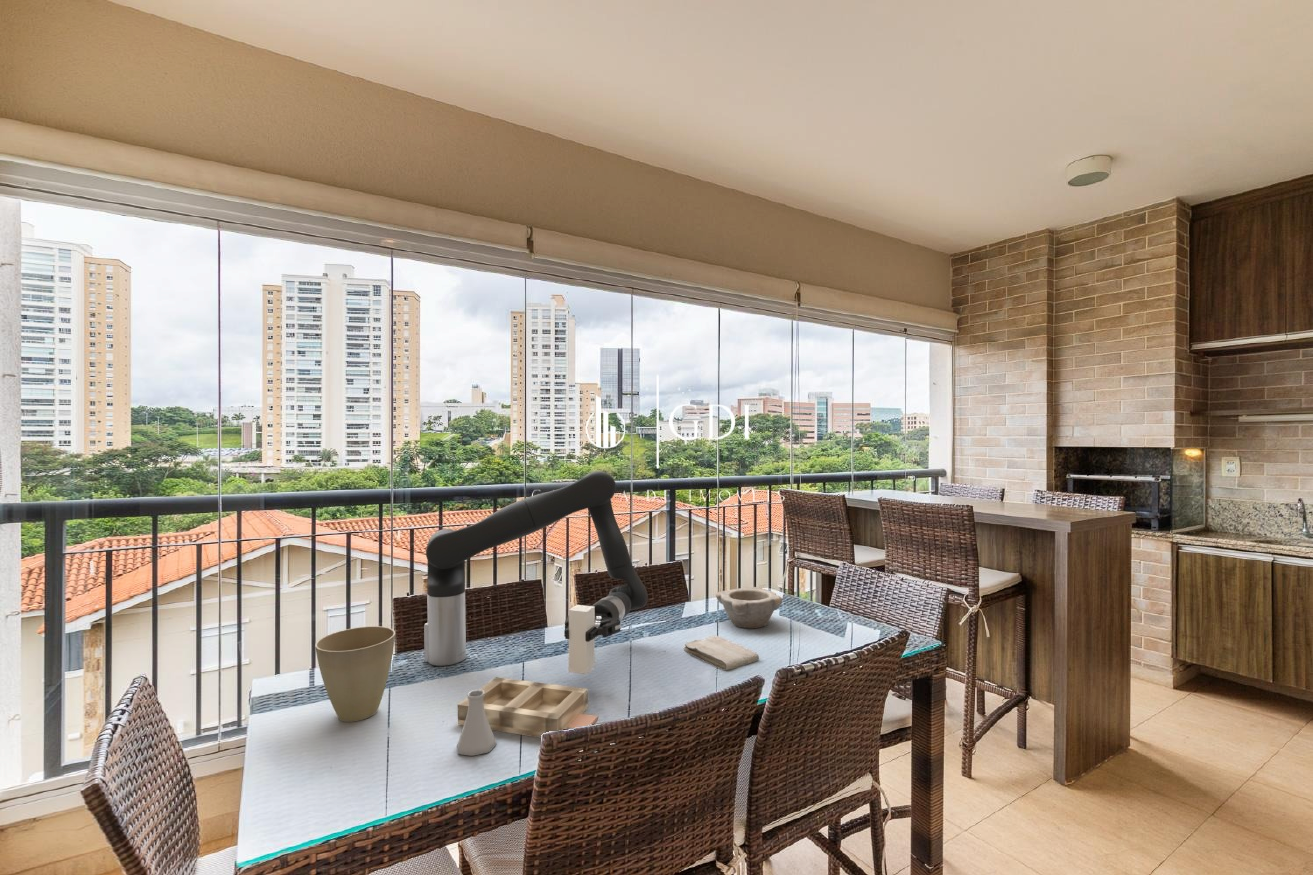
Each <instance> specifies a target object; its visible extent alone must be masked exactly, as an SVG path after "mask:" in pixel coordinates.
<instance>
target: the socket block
mask: <svg viewBox="0 0 1313 875" xmlns="http://www.w3.org/2000/svg"><path fill="white" fill-rule="evenodd" d="M478 690H484V692H485V696H484V697H483V704H484V710H485V714H486V717H487V720H488V723H489V725H490V728H491V730H492V731H495V732H496V731H497V732H504V733H508V734H515V735H516V734H517V735H522V736H529V737H534V738H541V735H542V734H543V733H546V732H549V731H559V730H563V729H569V728H575V727H582V726H588V725H590V724H593V725H594V724H595V723H596V722H597V721H598V719H599V715H593V714H586V713H584V712H585V711H587V709H588V708H589V706H588V705H589V700H588V697H589V696H588V695H589V694H588V688H584V687H576V686H575V687H574V686H566V685H560V684H553V683H544V682H536V681H531V680H530V681H529V680H523V679H521V680H520V679H512V678H504V677H499V676H498V677H497V676H496V677H494V678H493V679H492V680H490V681H489V682H488V683H486V684H484V685H483V686H482V687H480V688H479V689H478ZM468 707H469V699H468V697H466V698H465V699H463V700H462V701H461V702H459V703H458V704H457V725H459V726H464V723H465V720H466V717H467V713H468ZM541 739H542V738H541Z"/></svg>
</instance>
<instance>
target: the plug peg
mask: <svg viewBox="0 0 1313 875" xmlns="http://www.w3.org/2000/svg"><path fill="white" fill-rule="evenodd" d="M568 615H569V639H568V673H573V674H581V675H588V674H589V673H590V672H591V671H593V669H594V668H595V665H596V664H595V651H596V650H595V648H596V647H595V644H596V642H595V641H596V640H595V639H596V637H595V638H594V639H593V640H591V641H589V642H586V641H585V634H586V631H588V630H589V629H591V628H592V627H594V625H595V606H592V605H583V604H576V605H575V606H573V607H571V608H569V609H568Z"/></svg>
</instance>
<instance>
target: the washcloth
mask: <svg viewBox="0 0 1313 875" xmlns="http://www.w3.org/2000/svg"><path fill="white" fill-rule="evenodd" d="M683 650H684V651H685V652H686V653H687V654H689V655H691V656H692V657H695V658H697V659H699V660H700V661H703V662H705V663H708V664H709V665H712V666H714V667H715V668H718V669H720V670H723V671H730V670H733V669H736V668H738V667H741V666H746V665H749V664H752V663H755V662H757V661H759V660H760V656H759V654H758V653H757V652H755V651H753V650H752V649H749V648H746V647H744V646H743V645H740V644H738V643H735V642H733V641H731V640H728V639H725V638H723V637H721V636H719V635H711V636H709V637H707V638H705V639H694V640H693V641H689V642H686V643H684V647H683Z"/></svg>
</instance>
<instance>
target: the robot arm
mask: <svg viewBox="0 0 1313 875" xmlns="http://www.w3.org/2000/svg"><path fill="white" fill-rule="evenodd" d="M616 490H617V483H616V480H615V479H614V478H613V476H612V475H610V474H609V473H608V472H606V471H602V470H595V471H591V472H589V473H586V474H585V475H584V476H583V477H581V479H578V480H577V481H574V482H572V483H571V484H568V485H566V486H564V487H561V488H558V489H554V490H551V491H546V492H541V493H538V494H534V495H532V496H529V497H525V498H523V499H521V500H517V501H515V502H512V503H510V504H508V505H506V506H503V507H502V508H500V509H498V510H497V511H495V512H493V513H491V514H490V515H488V516H487V517H485V518H484V519H482V520H480V521H478V522H476V523H474V524H471V525H468V526H465V527H461V528H459V529H456V530H454V529H450V528H444V529H439V530H438V531H436V532H434V533H433V534H432V535H431V536H430V537H429V540H428V541H427V545H426V549H425V557H426V559H427V577H426V578H427V581H426V592H427V593H426V598H427V603H426V604H427V622H426V623H424V625H423V627H424V628H423V629H424V630H423V631H424V632H423V634H424V635H423V636H424V637H423V638H424V641H423V642H424V644H423V646H424V650H423V652H424V662H426V663H428V664H429V665H431V666H432V665H433V666H440V667H441V666H451V665H455V664H458V663H460V662H463V661H464V660H465V659H466V657H467V648H466V647H467V646H466V644H467V642H466V640H467V638H466V636H467V635H466V631H467V630H466V628H467V627H466V560H468V559H470V558H472V557H473V558H474V556H476V555H479V554H480V553H483V552H484V551H486V550H489V549H492V548H494V547H499V546H501V545H505V544H506V543H509V542H513V541H515V540H518V539H520V538H523V537H526V536H529V535H530V534H533V533H536V532H538V531H540V530H542V529H544V528H546V527H548V526H551V525H552V524H554V523H556V522H557V523H558V521H560V520H562V519H564V518H566V517H568V516H571V514H575V513H577V512H580V511H583V510H586V509H587V510H588V513H589V514H590V517H591V519H592V523H593V525H594V528H595V531H596V536H597V538H598V542H599V546H600V550H601V553H602V557H603V560H604V564H605V567H606V571H607V573H608V576H609V578H610V579H614V580H622V581H625V583H626V584H623V585H618V586H615V587H613V588H611V589H610V590H609V593H608V595H607V596H606V597H603V598H601V599H599V600H598V601H596V602H594V603H593V604H592V605H591V606H595V625H594V627H592V628H591V629H589V630H588V631H586V634H585V641H586V642H589V641H591V640H593V639H594V638H595V639H596V638H597V639H598V638H599V637H600V636H602V638H608V637H610V636H613V635H614V634H617V633H619V632H621V622H622V620H624V619H625V617H627V615H628V614H629V613H630V611H634V610H638V609H642V608H644V607H645V606H646V605H647V602H648V599H649V596H648V591H647V588H646V587H645V584H644V583H643V582H642V580H641V578H640V577H639V575H638V573H637V571H636V570H635V568H634V566H633V563H632V559H631V556H630V552H629V549H628V546H627V543H626V541H625V539H624V536H623V534H622V533H623V532H622V531H621V529H620V527H619V524H618V522H617V520H616V516H615V513H614V509H613V505H612V498H613V497H614V495H615V494H616ZM564 639H565V640H569V614H568V615H567V617H566V619H565V621H564Z"/></svg>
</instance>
